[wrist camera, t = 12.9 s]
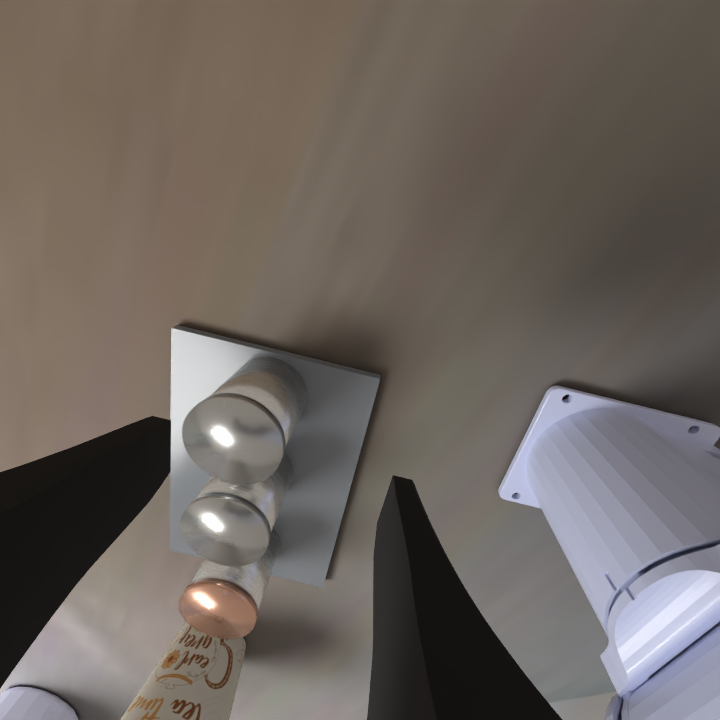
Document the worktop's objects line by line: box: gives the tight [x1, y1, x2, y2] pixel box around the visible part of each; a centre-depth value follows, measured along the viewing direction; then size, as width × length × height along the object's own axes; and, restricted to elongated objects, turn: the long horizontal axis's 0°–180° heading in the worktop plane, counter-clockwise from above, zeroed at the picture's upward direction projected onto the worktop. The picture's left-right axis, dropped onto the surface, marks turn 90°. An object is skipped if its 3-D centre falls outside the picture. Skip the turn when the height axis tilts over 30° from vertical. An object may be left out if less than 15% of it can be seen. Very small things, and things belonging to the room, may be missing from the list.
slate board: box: [169, 325, 381, 588], centre depth 23 cm, size 12×18×1 cm, turn 167°
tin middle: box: [180, 453, 293, 567], centre depth 20 cm, size 5×5×5 cm
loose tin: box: [179, 528, 281, 639], centre depth 22 cm, size 5×5×5 cm
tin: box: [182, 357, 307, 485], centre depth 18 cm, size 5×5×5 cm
